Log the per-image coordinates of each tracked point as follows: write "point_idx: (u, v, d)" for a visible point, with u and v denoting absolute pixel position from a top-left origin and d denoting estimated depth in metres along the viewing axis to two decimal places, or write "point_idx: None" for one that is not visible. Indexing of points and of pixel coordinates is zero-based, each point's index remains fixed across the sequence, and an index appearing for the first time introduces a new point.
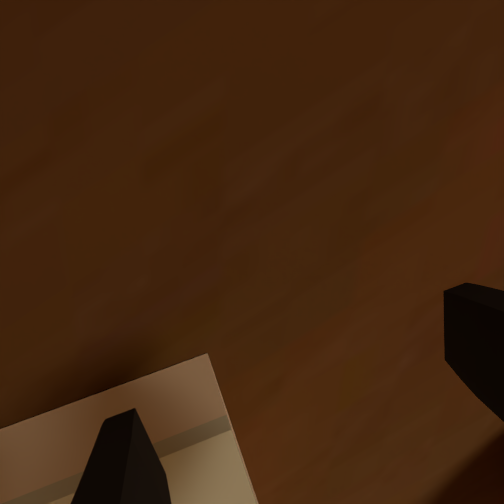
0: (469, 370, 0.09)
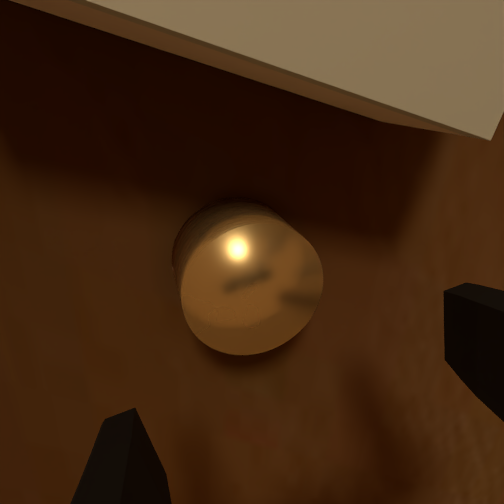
0: (469, 370, 0.09)
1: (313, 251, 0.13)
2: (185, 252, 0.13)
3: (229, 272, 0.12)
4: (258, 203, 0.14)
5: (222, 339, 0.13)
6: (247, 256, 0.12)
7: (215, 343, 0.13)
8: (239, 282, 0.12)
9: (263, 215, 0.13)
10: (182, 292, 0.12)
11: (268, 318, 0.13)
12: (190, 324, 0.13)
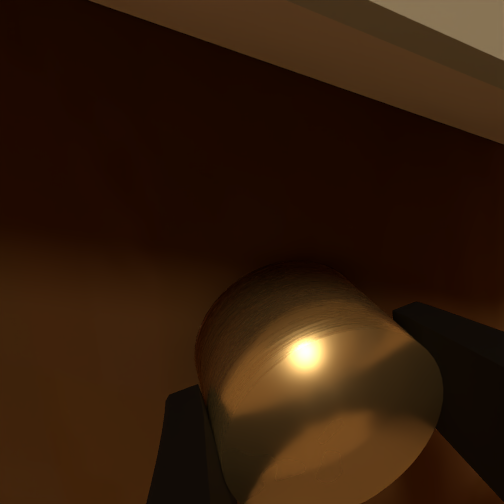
0: None
1: (433, 364, 0.08)
2: (222, 364, 0.08)
3: (302, 409, 0.07)
4: (328, 272, 0.09)
5: (282, 503, 0.08)
6: (332, 382, 0.07)
7: None
8: (316, 421, 0.07)
9: (351, 305, 0.08)
10: (222, 444, 0.07)
11: (355, 466, 0.08)
12: (233, 490, 0.08)
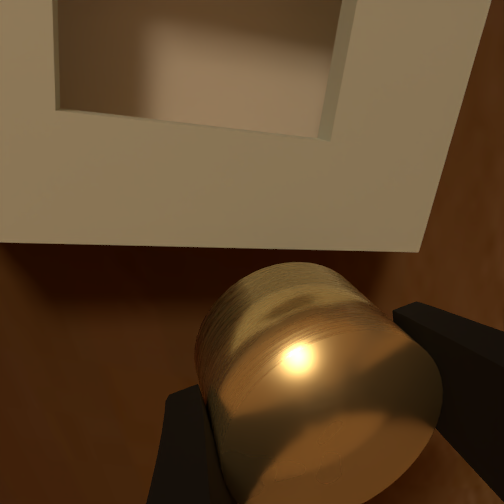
0: None
1: (432, 365, 0.08)
2: (221, 366, 0.08)
3: (302, 409, 0.07)
4: (328, 273, 0.09)
5: None
6: (331, 384, 0.07)
7: None
8: (315, 423, 0.07)
9: (350, 306, 0.08)
10: (222, 446, 0.07)
11: (354, 467, 0.08)
12: (233, 492, 0.08)
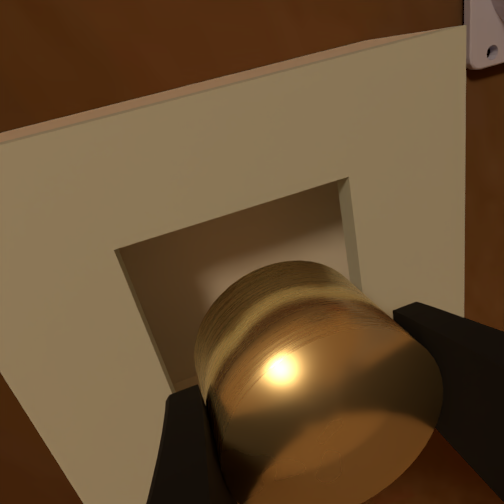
0: None
1: (433, 364, 0.08)
2: (222, 364, 0.08)
3: (301, 408, 0.07)
4: (328, 271, 0.09)
5: (282, 503, 0.08)
6: (331, 382, 0.07)
7: None
8: (315, 422, 0.07)
9: (351, 305, 0.08)
10: (222, 444, 0.07)
11: (354, 466, 0.08)
12: (233, 490, 0.07)
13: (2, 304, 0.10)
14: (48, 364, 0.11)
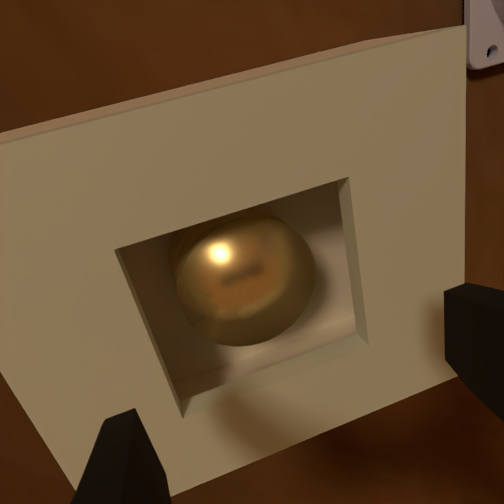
0: (469, 370, 0.09)
1: (305, 245, 0.13)
2: (181, 245, 0.13)
3: (225, 265, 0.13)
4: None
5: (218, 330, 0.13)
6: (241, 249, 0.13)
7: (211, 334, 0.13)
8: (234, 275, 0.13)
9: (257, 210, 0.13)
10: (179, 284, 0.13)
11: (262, 310, 0.14)
12: (186, 315, 0.13)
13: (2, 304, 0.10)
14: (48, 364, 0.11)
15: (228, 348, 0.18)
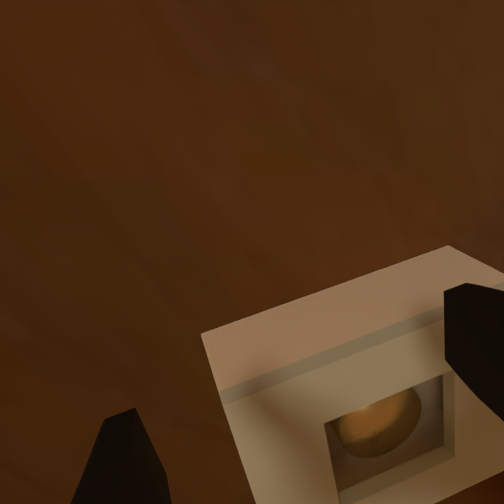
0: (469, 370, 0.09)
1: (418, 397, 0.21)
2: None
3: (370, 412, 0.20)
4: None
5: (358, 449, 0.21)
6: (380, 402, 0.20)
7: (353, 451, 0.21)
8: (373, 417, 0.20)
9: None
10: (341, 423, 0.20)
11: (386, 436, 0.21)
12: (342, 441, 0.20)
13: (262, 457, 0.17)
14: (276, 486, 0.18)
15: None
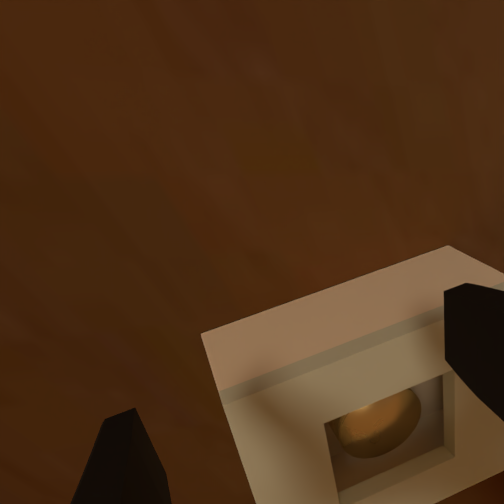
0: (469, 370, 0.09)
1: (418, 401, 0.21)
2: None
3: (370, 413, 0.20)
4: None
5: (356, 449, 0.21)
6: (382, 405, 0.20)
7: (351, 452, 0.21)
8: (374, 418, 0.20)
9: None
10: (341, 424, 0.20)
11: (384, 438, 0.21)
12: (341, 441, 0.20)
13: (262, 457, 0.17)
14: (276, 486, 0.18)
15: None
